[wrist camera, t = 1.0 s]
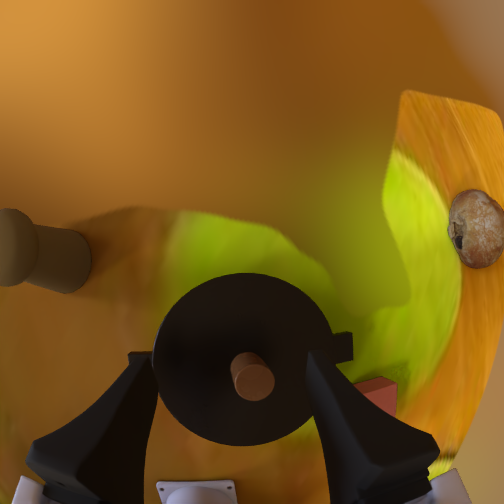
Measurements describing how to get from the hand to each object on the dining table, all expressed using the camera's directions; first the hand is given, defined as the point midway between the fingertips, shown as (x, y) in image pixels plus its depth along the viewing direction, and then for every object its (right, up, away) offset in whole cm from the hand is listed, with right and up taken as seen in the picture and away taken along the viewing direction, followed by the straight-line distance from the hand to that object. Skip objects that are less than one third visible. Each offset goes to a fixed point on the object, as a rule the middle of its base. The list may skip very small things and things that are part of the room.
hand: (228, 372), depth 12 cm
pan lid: (+1, -3, +8) cm, 8 cm away
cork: (-17, +4, +11) cm, 20 cm away
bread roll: (+30, +8, +18) cm, 36 cm away
